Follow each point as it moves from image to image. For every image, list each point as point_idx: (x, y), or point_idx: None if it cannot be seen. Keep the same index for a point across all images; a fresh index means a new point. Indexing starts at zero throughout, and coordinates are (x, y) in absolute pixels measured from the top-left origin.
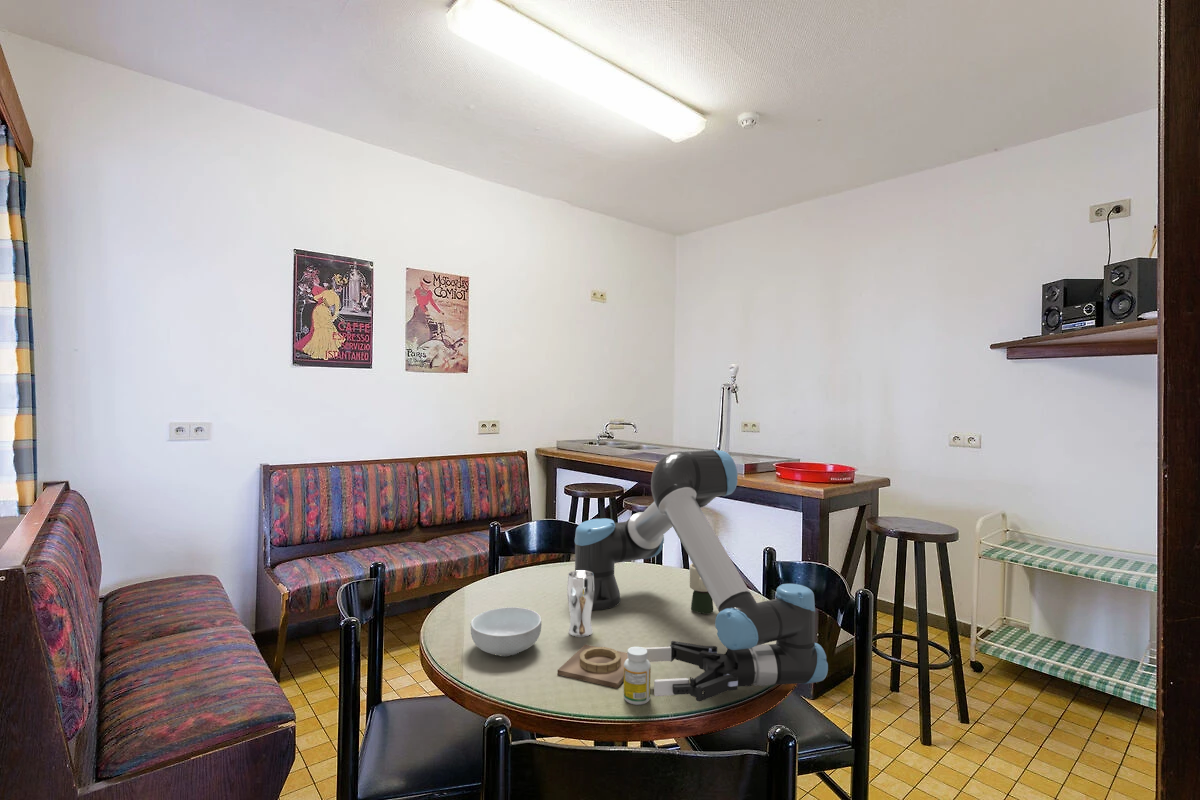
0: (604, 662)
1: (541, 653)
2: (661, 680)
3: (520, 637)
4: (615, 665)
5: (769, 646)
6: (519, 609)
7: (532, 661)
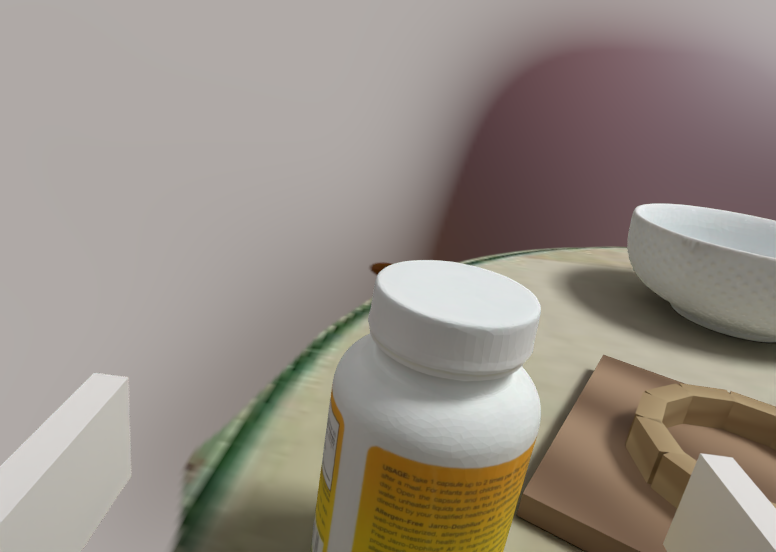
0: None
1: (747, 367)
2: (75, 408)
3: (671, 245)
4: None
5: None
6: None
7: (671, 343)
